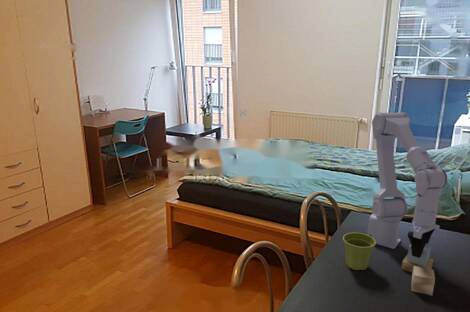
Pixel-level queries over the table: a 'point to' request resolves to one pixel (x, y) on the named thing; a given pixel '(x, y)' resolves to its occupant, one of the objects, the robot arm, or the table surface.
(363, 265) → the plant pot
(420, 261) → the grey cube
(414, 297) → the table surface
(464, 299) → the table surface
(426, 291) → the beech cube
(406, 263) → the oak block
